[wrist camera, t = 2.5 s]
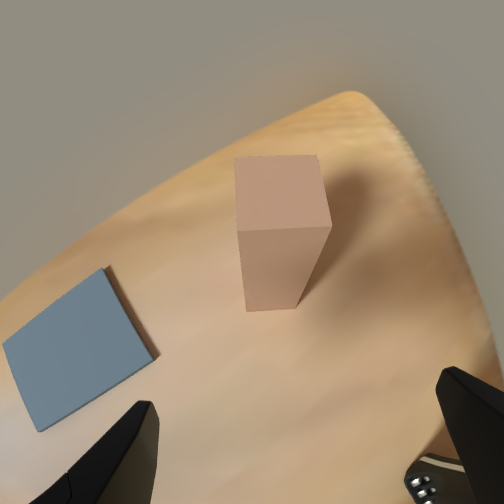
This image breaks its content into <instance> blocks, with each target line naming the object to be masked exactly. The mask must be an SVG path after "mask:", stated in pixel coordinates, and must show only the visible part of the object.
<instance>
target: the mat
mask: <svg viewBox="0 0 504 504" xmlns="http://www.w3.org/2000/svg"><path fill="white" fill-rule="evenodd" d="M2 345H3V348H4V351H5V354H6V357H7V360H8V363H9V366H10V369H11V372H12V374H13V377H14V380H15V382H16V385H17V387H18V390H19V392H20V395H21V397H22V399H23V402H24V404H25V406H26V408H27V411H28V413H29V415H30V417H31V419H32V421H33V423H34V425H35V427H36V430H37V432H43V431H44V430H46V429H48V428H49V427H51V426H53V425H54V424H56V423H58V422H59V421H61V420H62V419H64V418H66V417H67V416H69V415H71V414H72V413H74V412H75V411H77V410H79V409H80V408H82V407H83V406H85V405H87V404H88V403H90V402H91V401H93V400H95V399H96V398H98V397H99V396H101V395H103V394H104V393H106V392H107V391H109V390H110V389H112V388H113V387H115V386H117V385H118V384H120V383H121V382H123V381H124V380H126V379H127V378H129V377H130V376H132V375H134V374H135V373H137V372H138V371H140V370H141V369H143V368H144V367H146V366H147V365H149V364H150V363H152V362H153V361H155V360H154V358H153V357H152V355H151V353H150V352H149V350H148V348H147V347H146V345H145V343H144V342H143V340H142V338H141V337H140V335H139V333H138V332H137V330H136V328H135V327H134V325H133V323H132V321H131V319H130V318H129V316H128V314H127V312H126V311H125V309H124V307H123V305H122V303H121V301H120V299H119V298H118V296H117V294H116V292H115V290H114V288H113V286H112V284H111V282H110V280H109V278H108V276H107V274H106V272H105V270H104V269H102V268H101V269H99V270H98V271H96V272H95V273H93V274H92V275H91V276H89V277H88V278H87V279H85V280H84V281H82V282H81V283H80V284H78V285H77V286H76V287H74V288H73V289H71V290H70V291H69V292H67V293H66V294H65V295H63V296H62V297H61V298H59V299H58V300H57V301H55V302H54V303H53V304H51V305H50V306H49V307H48V308H46V309H45V310H44V311H42V312H41V313H40V314H39V315H37V316H36V317H35V318H33V319H32V320H31V321H30V322H28V323H27V324H26V325H25V326H23V327H22V328H21V329H20V330H18V331H17V332H16V333H15V334H13V335H12V336H11V337H10V338H9V339H7V340H6V341H5V342H4V343H3V344H2Z"/></svg>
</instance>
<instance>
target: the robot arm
mask: <svg viewBox="0 0 504 504" xmlns="http://www.w3.org/2000/svg"><path fill="white" fill-rule="evenodd" d="M436 395H437V398H438V401H439V404H440V407H441V410H442V413H443V416H444V420H445V423H446V426H447V429H448V431H449V434H450V436H451V439H452V441H453V443H454V446H455V448H456V451H457V453H458V456H459V458H460V461H461V463H462V466H463V468H464V471H465V474H466V476H467V479H468V482H469V485H470V487H471V490H472V493H473V496H474V499H475V502H476V504H504V392H502V391H500V390H498V389H497V388H495V387H493V386H491V385H489V384H487V383H485V382H483V381H481V380H480V379H478V378H476V377H474V376H472V375H470V374H468V373H466V372H464V371H463V370H461V369H459V368H457V367H455V366H451V367H448V368H445V369H443V370H442V372H441V375H440V377H439V380H438V382H437V385H436ZM159 426H160V423H159V417H158V415H157V412H156V410H155V407H154V405H153V403H152V402H151V401H143V400H139V401H137V402H136V403H135V404H134V405H133V406H132V407H131V408H130V409H129V410H128V411H127V412H126V413H125V414H124V415H123V416H122V417H121V418H120V419H119V420H118V421H117V422H116V423H115V424H114V425H113V426H112V427H111V428H110V429H109V430H108V431H107V432H106V433H105V434H104V435H103V436H102V437H101V438H100V439H99V440H98V441H97V442H96V443H95V444H94V445H93V446H92V447H91V448H90V449H89V450H88V451H87V452H86V453H85V454H84V455H83V456H82V457H81V458H80V459H79V460H78V461H77V462H76V463H75V464H74V465H73V466H72V467H71V468H70V469H69V470H68V471H67V473H65V474H64V475H63V476H62V477H60V478H59V479H58V480H57V481H56V482H55V483H54V484H53V485H52V486H51V487H50V488H48V489H47V490H46V491H45V492H43V493H42V494H41V495H40V496H38V497H37V498H36V499H34V500H33V501H32V502H30V503H29V504H150V502H151V496H152V490H153V485H154V479H155V474H156V468H157V454H158V439H159Z"/></svg>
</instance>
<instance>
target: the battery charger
mask: <svg viewBox="0 0 504 504" xmlns="http://www.w3.org/2000/svg"><path fill="white" fill-rule="evenodd" d="M404 483H405V486H406V488H407V489H408V491H409V493H410V495H411V496H412V498H413V500H414V501H415V503H416V504H476V502H475V499H474V496H473V493H472V490H471V487H470V485H469V482H468V479H467V476H466V474H465V471H464V468H463V466H462V463H461V461H460V460H456V459H450V458H446V457H442V456H438V455H435V454H432V453H428V454H427V455H425V456H423V457H421V458H420V459H419V461H418V462H417V463H416V464H414V465H413V466H412V468H411V469H410V470H409V471H408V472H407V474H406V475H405V478H404Z"/></svg>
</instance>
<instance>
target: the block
mask: <svg viewBox="0 0 504 504" xmlns="http://www.w3.org/2000/svg"><path fill="white" fill-rule="evenodd" d="M234 165H235V190H236V213H237V233H238V242H239V251H240V260H241V269H242V278H243V286H244V295H245V304H246V312H252V311H268V310H281V309H294V308H295V307H296V305H297V303H298V301H299V299H300V297H301V295H302V293H303V291H304V288H305V286H306V284H307V282H308V280H309V278H310V276H311V273H312V271H313V269H314V267H315V265H316V262H317V260H318V258H319V256H320V254H321V251H322V249H323V247H324V245H325V242H326V240H327V238H328V235H329V233H330V231H331V229H332V221H331V216H330V211H329V207H328V202H327V197H326V193H325V188H324V184H323V180H322V175H321V171H320V167H319V163H318V159H317V155H285V156H259V157H240V158H234Z"/></svg>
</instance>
